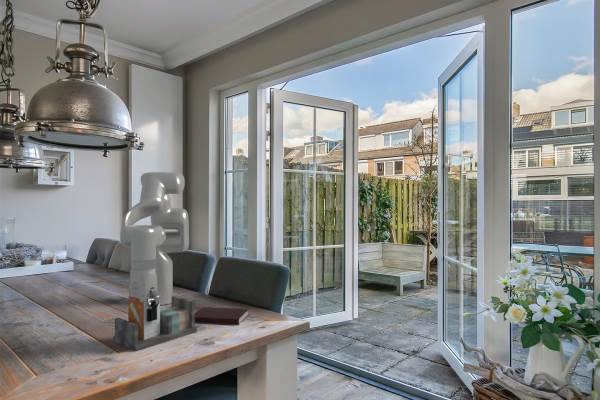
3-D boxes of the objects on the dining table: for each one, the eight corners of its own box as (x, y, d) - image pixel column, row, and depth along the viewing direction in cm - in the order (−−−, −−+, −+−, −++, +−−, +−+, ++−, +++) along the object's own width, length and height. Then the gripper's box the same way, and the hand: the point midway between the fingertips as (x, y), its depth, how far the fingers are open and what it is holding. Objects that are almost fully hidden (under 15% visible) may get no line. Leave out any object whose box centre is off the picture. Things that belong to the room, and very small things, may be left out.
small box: (127, 335, 124) (127, 295, 124) (144, 330, 129) (144, 291, 130) (143, 340, 120) (143, 299, 120) (160, 334, 125) (160, 294, 125)
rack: (113, 340, 124) (113, 308, 124) (172, 323, 141) (172, 295, 141) (136, 351, 115) (136, 316, 115) (196, 331, 133) (196, 301, 133)
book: (238, 326, 139) (238, 317, 139) (189, 323, 143) (189, 314, 143) (249, 316, 152) (249, 308, 152) (203, 314, 155) (203, 306, 155)
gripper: (119, 264, 127) (119, 315, 127) (147, 269, 116) (147, 326, 116) (140, 261, 133) (140, 310, 133) (169, 266, 122) (169, 319, 122)
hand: (143, 317), depth 125 cm, fingers open, 9 cm apart
